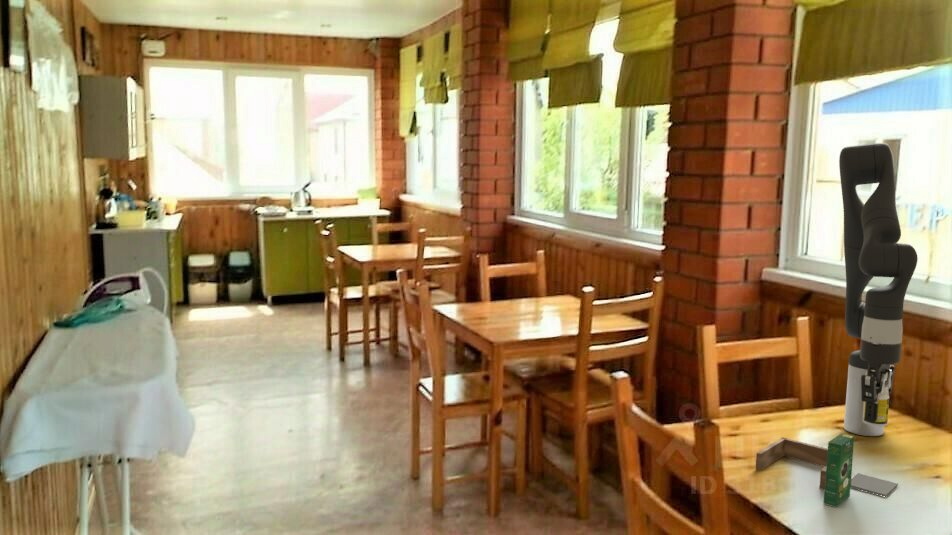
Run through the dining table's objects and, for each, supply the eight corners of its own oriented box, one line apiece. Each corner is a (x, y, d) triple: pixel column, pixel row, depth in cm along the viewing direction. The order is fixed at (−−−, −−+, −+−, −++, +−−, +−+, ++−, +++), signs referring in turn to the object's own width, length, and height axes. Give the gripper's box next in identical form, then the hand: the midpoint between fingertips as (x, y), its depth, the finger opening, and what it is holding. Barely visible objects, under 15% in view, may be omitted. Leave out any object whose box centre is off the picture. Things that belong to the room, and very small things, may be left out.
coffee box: (836, 491, 162) (841, 431, 161) (850, 495, 160) (855, 435, 159) (822, 503, 157) (826, 441, 155) (837, 508, 155) (841, 445, 153)
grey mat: (858, 475, 171) (858, 473, 171) (897, 486, 165) (897, 483, 165) (845, 486, 165) (845, 483, 165) (885, 497, 160) (886, 494, 160)
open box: (781, 453, 184) (782, 437, 183) (847, 471, 173) (849, 454, 173) (755, 469, 174) (756, 452, 173) (824, 489, 163) (825, 471, 163)
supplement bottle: (890, 428, 161) (893, 388, 160) (865, 426, 162) (868, 387, 161) (883, 420, 165) (886, 382, 164) (859, 418, 166) (862, 380, 165)
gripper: (873, 330, 169) (867, 406, 171) (850, 341, 159) (844, 421, 161) (911, 336, 164) (905, 413, 166) (889, 347, 153) (883, 430, 156)
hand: (875, 417), depth 163 cm, fingers closed on supplement bottle, 4 cm apart
